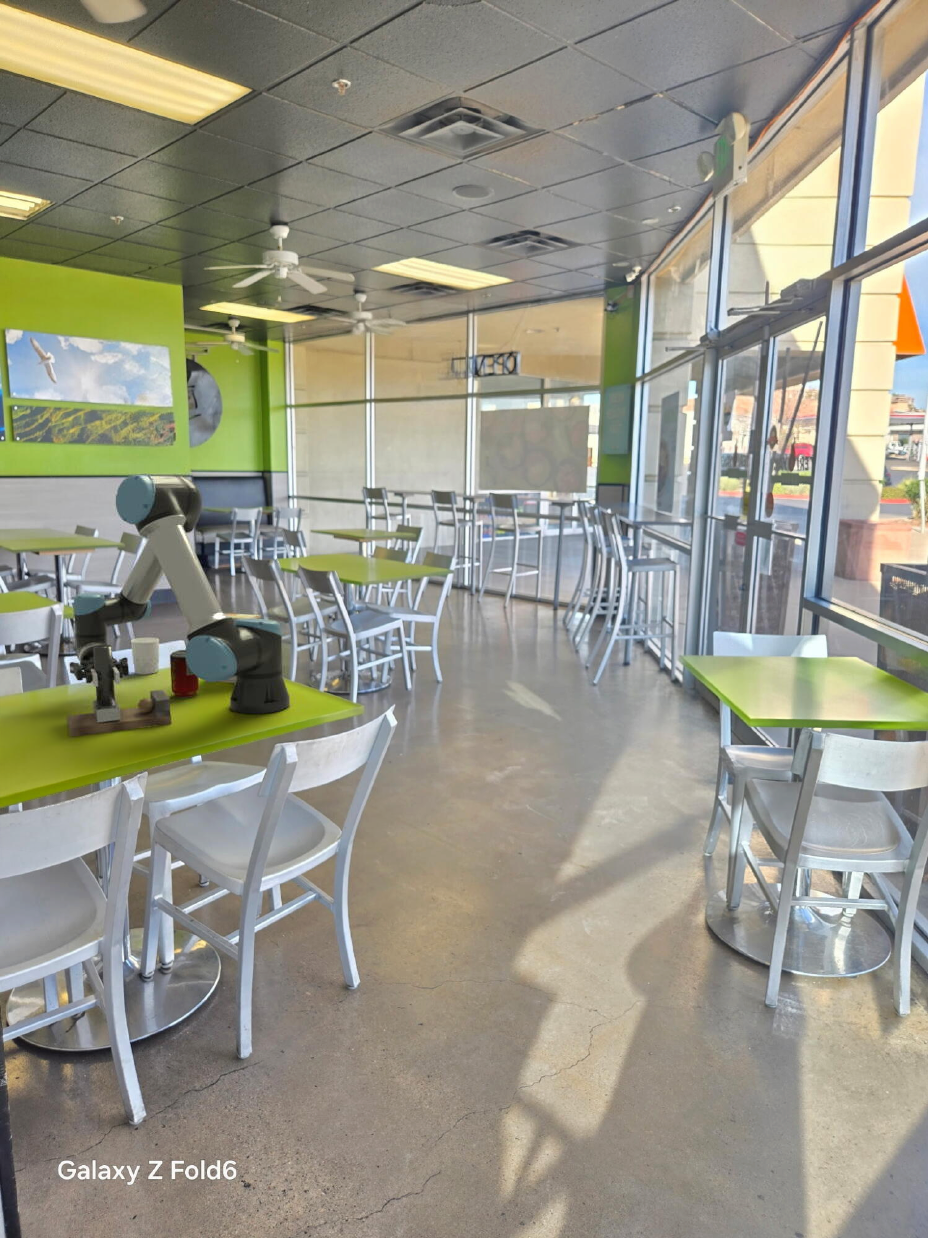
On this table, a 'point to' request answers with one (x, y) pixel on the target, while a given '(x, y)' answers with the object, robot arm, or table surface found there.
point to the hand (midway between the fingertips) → (107, 679)
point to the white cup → (145, 655)
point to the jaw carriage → (105, 685)
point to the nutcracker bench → (125, 717)
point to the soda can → (182, 676)
